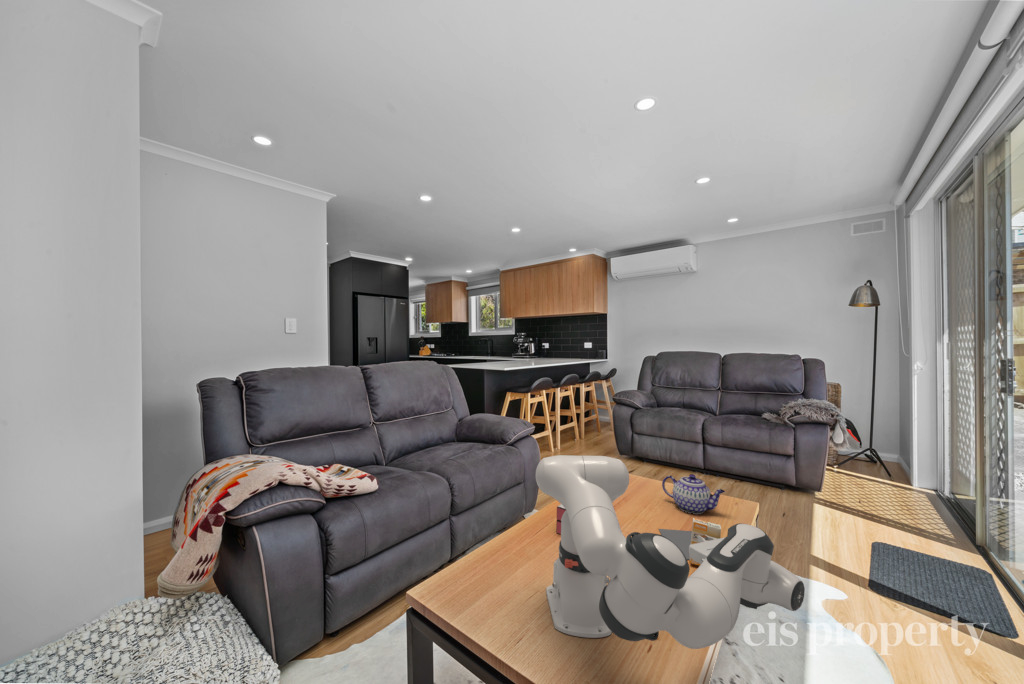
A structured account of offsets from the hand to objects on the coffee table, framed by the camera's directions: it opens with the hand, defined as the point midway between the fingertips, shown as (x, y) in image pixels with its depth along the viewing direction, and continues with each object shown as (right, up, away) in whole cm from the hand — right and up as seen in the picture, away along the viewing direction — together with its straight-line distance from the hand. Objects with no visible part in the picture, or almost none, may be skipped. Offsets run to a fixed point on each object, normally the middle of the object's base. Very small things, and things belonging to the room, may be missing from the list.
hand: (701, 537), depth 120 cm
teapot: (+18, -11, +44) cm, 49 cm away
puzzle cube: (-36, -10, +22) cm, 44 cm away
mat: (+2, -10, +15) cm, 18 cm away
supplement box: (+2, -10, +2) cm, 10 cm away
